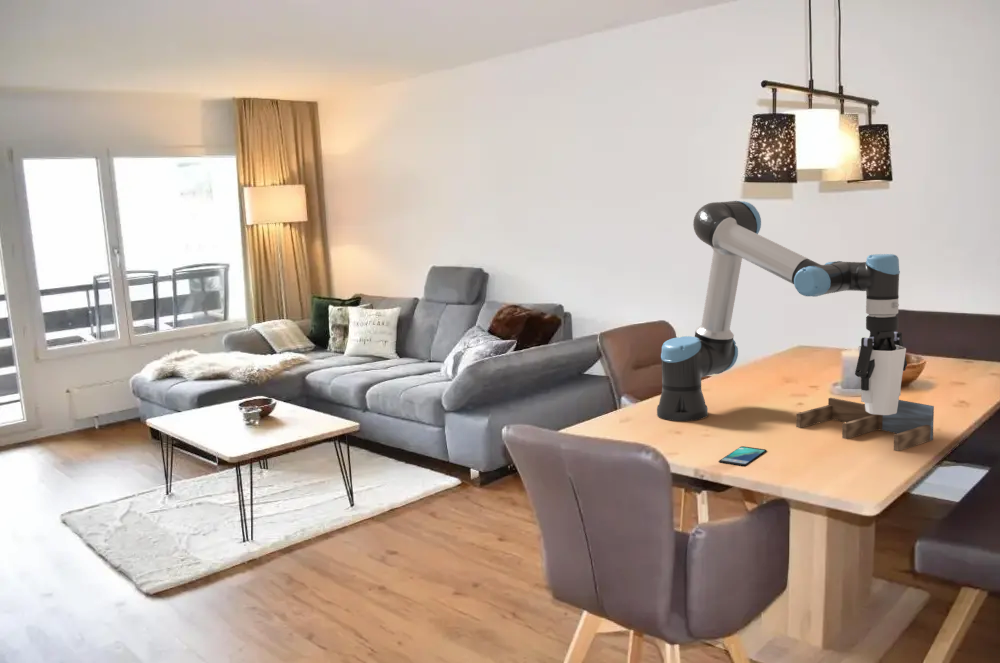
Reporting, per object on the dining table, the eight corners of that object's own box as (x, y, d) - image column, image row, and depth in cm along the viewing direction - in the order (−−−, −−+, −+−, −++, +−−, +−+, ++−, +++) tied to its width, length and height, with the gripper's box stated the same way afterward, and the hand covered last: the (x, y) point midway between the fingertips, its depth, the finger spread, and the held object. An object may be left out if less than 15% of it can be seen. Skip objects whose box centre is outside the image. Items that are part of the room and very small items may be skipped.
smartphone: (717, 461, 204) (741, 445, 216) (717, 464, 205) (741, 448, 216) (744, 465, 200) (767, 449, 211) (744, 468, 200) (768, 452, 212)
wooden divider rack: (898, 451, 206) (898, 416, 205) (796, 427, 232) (796, 396, 230) (932, 439, 214) (933, 406, 212) (830, 417, 240) (831, 387, 238)
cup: (854, 414, 213) (854, 349, 210) (861, 405, 221) (862, 343, 218) (901, 418, 206) (902, 351, 204) (907, 409, 215) (908, 345, 212)
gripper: (867, 321, 201) (866, 408, 204) (923, 311, 213) (921, 393, 216) (840, 319, 207) (839, 403, 210) (896, 309, 219) (894, 389, 222)
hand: (881, 398), depth 213 cm, fingers closed on cup, 11 cm apart
